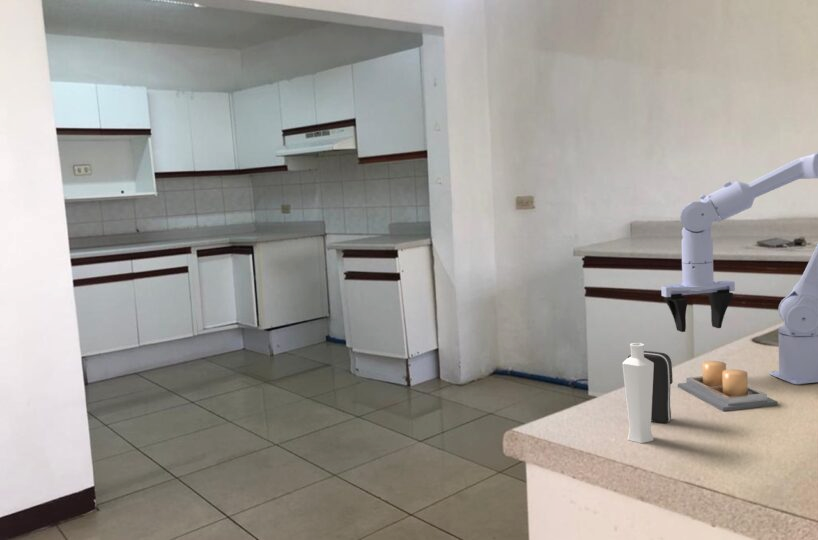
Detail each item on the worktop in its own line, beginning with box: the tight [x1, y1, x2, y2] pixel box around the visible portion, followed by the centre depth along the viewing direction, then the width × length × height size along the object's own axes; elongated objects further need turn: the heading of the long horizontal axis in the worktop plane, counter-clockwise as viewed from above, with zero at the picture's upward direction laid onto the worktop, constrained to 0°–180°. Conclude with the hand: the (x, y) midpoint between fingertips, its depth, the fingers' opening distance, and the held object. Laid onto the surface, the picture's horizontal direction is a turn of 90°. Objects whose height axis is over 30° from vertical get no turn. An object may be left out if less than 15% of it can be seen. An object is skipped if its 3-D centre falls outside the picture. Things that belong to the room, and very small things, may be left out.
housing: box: [677, 369, 779, 412], centre depth 121 cm, size 10×15×5 cm, turn 6°
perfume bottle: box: [622, 342, 655, 444], centre depth 103 cm, size 5×4×15 cm
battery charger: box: [627, 350, 673, 424], centre depth 112 cm, size 7×4×11 cm, turn 50°
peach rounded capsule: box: [702, 360, 727, 387], centre depth 124 cm, size 4×4×4 cm
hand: (698, 329), depth 134 cm, fingers open, 7 cm apart
